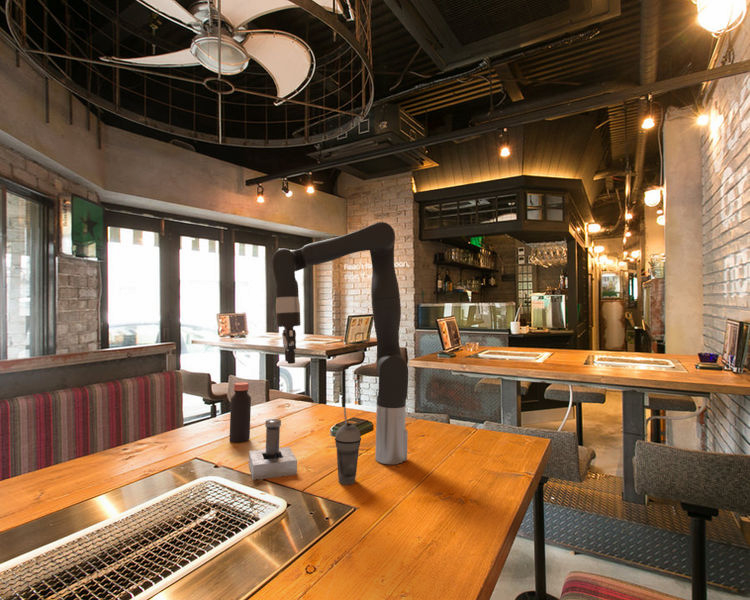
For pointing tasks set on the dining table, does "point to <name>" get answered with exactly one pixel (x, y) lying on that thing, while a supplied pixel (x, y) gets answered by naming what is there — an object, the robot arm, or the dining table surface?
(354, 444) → the beverage cup
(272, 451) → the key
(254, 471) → the block
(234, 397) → the bottle
